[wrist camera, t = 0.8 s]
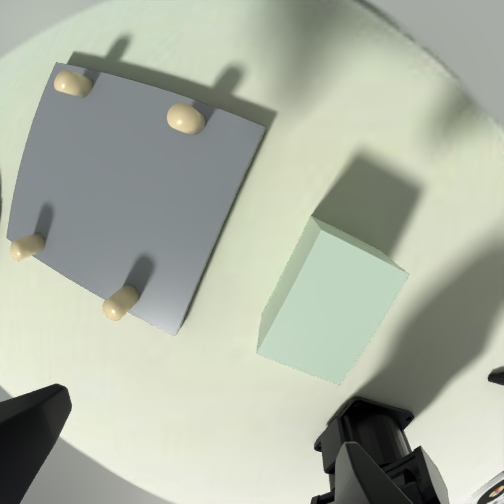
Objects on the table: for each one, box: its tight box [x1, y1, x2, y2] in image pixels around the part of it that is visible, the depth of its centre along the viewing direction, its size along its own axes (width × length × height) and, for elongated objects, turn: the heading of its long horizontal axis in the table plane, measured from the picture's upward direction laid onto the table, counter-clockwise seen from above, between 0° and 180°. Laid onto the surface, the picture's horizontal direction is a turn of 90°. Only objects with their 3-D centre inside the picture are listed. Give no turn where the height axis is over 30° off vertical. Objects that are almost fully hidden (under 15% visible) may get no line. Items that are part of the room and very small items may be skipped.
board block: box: [256, 216, 409, 385], centre depth 17 cm, size 5×7×5 cm
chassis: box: [6, 62, 266, 336], centre depth 17 cm, size 16×14×4 cm
